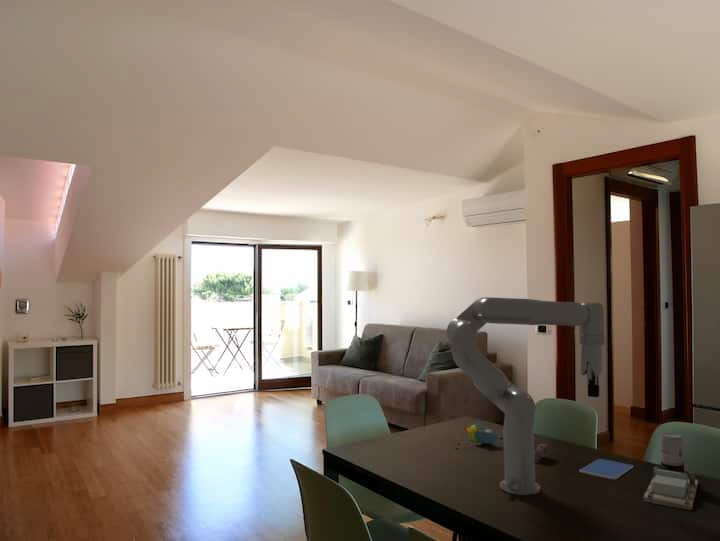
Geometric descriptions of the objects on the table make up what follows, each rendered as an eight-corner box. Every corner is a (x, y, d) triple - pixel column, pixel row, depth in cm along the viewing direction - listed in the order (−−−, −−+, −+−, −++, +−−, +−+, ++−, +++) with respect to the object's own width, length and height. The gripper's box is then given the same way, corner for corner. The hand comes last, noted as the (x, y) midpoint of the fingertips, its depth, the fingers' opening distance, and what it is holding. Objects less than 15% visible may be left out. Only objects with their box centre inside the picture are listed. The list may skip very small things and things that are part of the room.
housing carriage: (685, 498, 161) (684, 482, 161) (653, 492, 166) (652, 477, 166) (687, 488, 169) (687, 473, 169) (657, 483, 174) (657, 468, 174)
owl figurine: (489, 416, 242) (516, 423, 230) (489, 435, 242) (516, 443, 230) (443, 425, 226) (469, 433, 214) (443, 445, 226) (469, 455, 214)
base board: (691, 510, 155) (691, 493, 156) (643, 501, 163) (642, 485, 163) (698, 483, 177) (697, 468, 178) (655, 476, 185) (654, 462, 185)
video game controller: (537, 467, 201) (545, 451, 199) (526, 459, 203) (533, 444, 202) (545, 460, 209) (553, 445, 207) (534, 453, 211) (542, 438, 210)
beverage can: (677, 478, 179) (675, 432, 179) (689, 485, 172) (687, 437, 173) (657, 478, 179) (655, 432, 179) (668, 485, 172) (666, 438, 173)
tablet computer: (599, 461, 204) (599, 457, 204) (634, 468, 195) (634, 464, 195) (578, 473, 190) (578, 469, 190) (615, 482, 181) (615, 478, 181)
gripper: (585, 338, 185) (586, 392, 185) (574, 341, 173) (575, 399, 172) (608, 338, 181) (610, 394, 180) (599, 342, 169) (601, 401, 168)
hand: (593, 396), depth 176 cm, fingers closed
